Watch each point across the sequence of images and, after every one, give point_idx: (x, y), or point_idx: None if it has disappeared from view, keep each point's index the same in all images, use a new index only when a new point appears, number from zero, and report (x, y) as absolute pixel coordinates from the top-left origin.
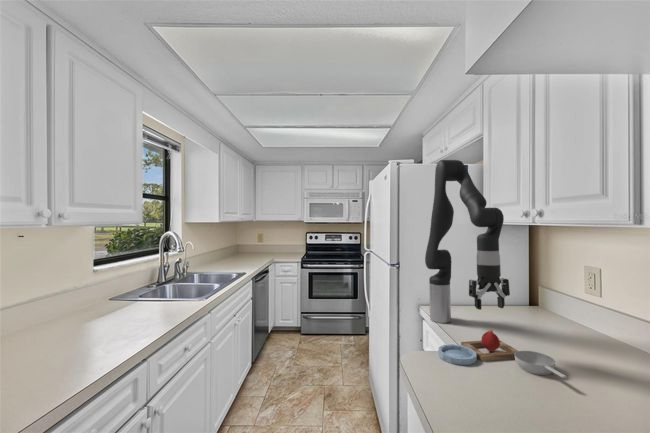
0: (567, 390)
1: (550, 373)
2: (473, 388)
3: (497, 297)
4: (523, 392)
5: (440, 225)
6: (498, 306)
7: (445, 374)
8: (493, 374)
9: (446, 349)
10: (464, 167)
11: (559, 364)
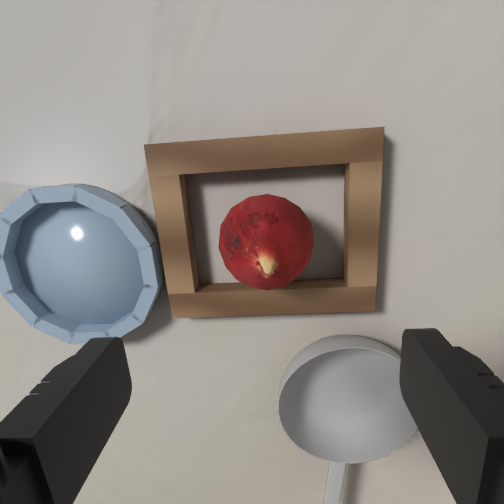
0: None
1: (364, 414)
2: None
3: (481, 422)
4: (196, 481)
5: None
6: (406, 341)
7: (6, 376)
8: (166, 395)
9: (50, 203)
10: None
11: None
